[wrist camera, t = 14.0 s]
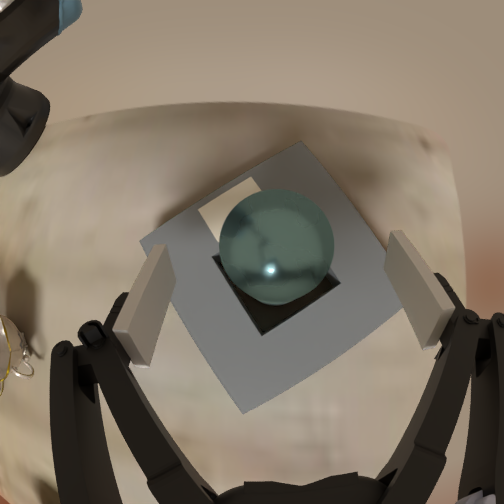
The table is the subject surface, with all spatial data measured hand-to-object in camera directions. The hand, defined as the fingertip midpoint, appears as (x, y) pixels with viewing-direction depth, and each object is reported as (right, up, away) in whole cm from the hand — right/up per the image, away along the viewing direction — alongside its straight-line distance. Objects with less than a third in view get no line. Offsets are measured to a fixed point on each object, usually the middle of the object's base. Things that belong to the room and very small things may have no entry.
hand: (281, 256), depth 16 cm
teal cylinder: (0, -2, +8) cm, 8 cm away
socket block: (0, -2, +8) cm, 8 cm away
